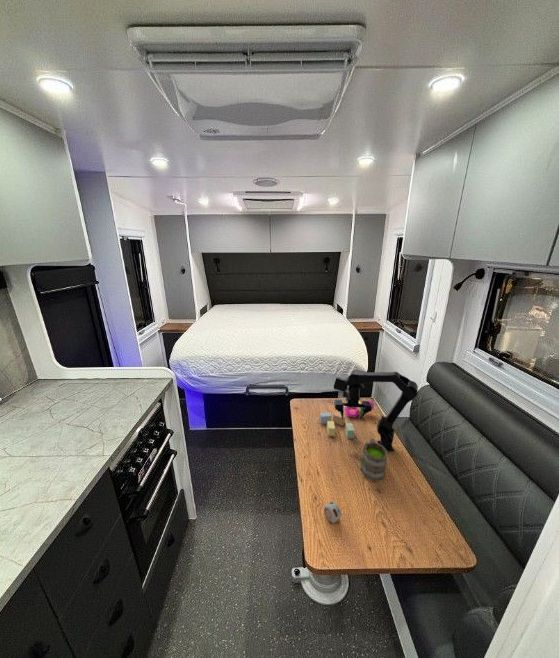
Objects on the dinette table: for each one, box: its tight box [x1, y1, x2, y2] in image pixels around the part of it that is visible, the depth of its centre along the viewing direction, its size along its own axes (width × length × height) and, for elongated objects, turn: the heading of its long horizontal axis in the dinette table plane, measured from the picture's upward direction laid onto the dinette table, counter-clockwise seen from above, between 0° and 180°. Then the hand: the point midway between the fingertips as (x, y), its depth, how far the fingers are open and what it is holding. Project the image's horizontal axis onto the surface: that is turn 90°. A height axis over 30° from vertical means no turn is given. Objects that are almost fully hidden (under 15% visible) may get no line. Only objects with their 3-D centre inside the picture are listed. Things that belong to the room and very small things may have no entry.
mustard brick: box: [326, 420, 336, 437], centre depth 142 cm, size 6×4×5 cm, turn 177°
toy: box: [344, 400, 375, 419], centre depth 157 cm, size 10×18×10 cm, turn 95°
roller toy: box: [323, 501, 342, 524], centre depth 97 cm, size 4×6×6 cm
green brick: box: [344, 422, 355, 439], centre depth 141 cm, size 6×4×5 cm, turn 177°
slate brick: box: [319, 411, 333, 425], centre depth 151 cm, size 6×4×5 cm, turn 97°
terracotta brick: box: [332, 411, 346, 426], centre depth 150 cm, size 6×4×5 cm, turn 57°
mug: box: [359, 437, 390, 482], centre depth 118 cm, size 16×11×12 cm
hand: (351, 419), depth 138 cm, fingers open, 9 cm apart
